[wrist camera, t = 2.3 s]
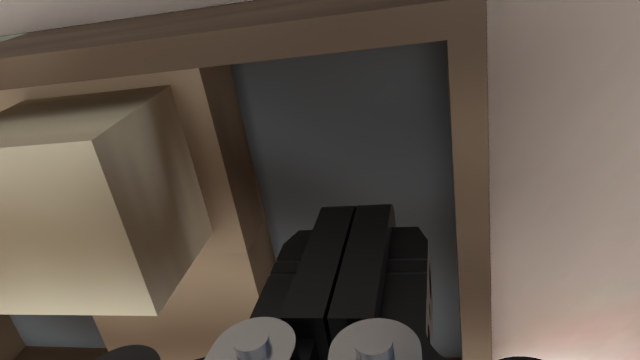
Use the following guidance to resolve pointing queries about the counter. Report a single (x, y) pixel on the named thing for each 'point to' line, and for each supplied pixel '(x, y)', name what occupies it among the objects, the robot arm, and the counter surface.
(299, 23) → the tray
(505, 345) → the counter surface
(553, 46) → the counter surface
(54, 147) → the maple block
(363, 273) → the robot arm
